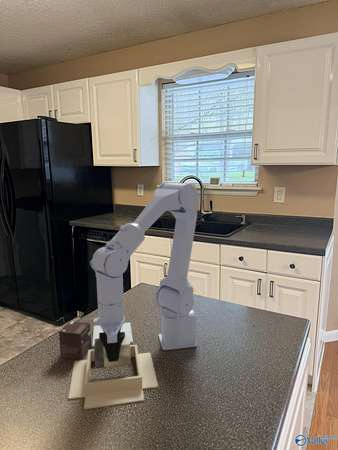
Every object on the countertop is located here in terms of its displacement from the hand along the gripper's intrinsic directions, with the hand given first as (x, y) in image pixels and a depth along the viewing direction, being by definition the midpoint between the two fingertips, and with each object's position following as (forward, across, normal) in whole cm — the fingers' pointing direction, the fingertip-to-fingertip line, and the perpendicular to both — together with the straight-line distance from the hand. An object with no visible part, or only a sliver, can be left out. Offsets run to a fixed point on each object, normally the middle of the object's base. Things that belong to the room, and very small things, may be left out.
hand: (113, 354), depth 74 cm
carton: (+5, 0, 0) cm, 5 cm away
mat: (+5, -18, 0) cm, 19 cm away
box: (+5, -11, -10) cm, 16 cm away
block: (+2, 0, 0) cm, 2 cm away
